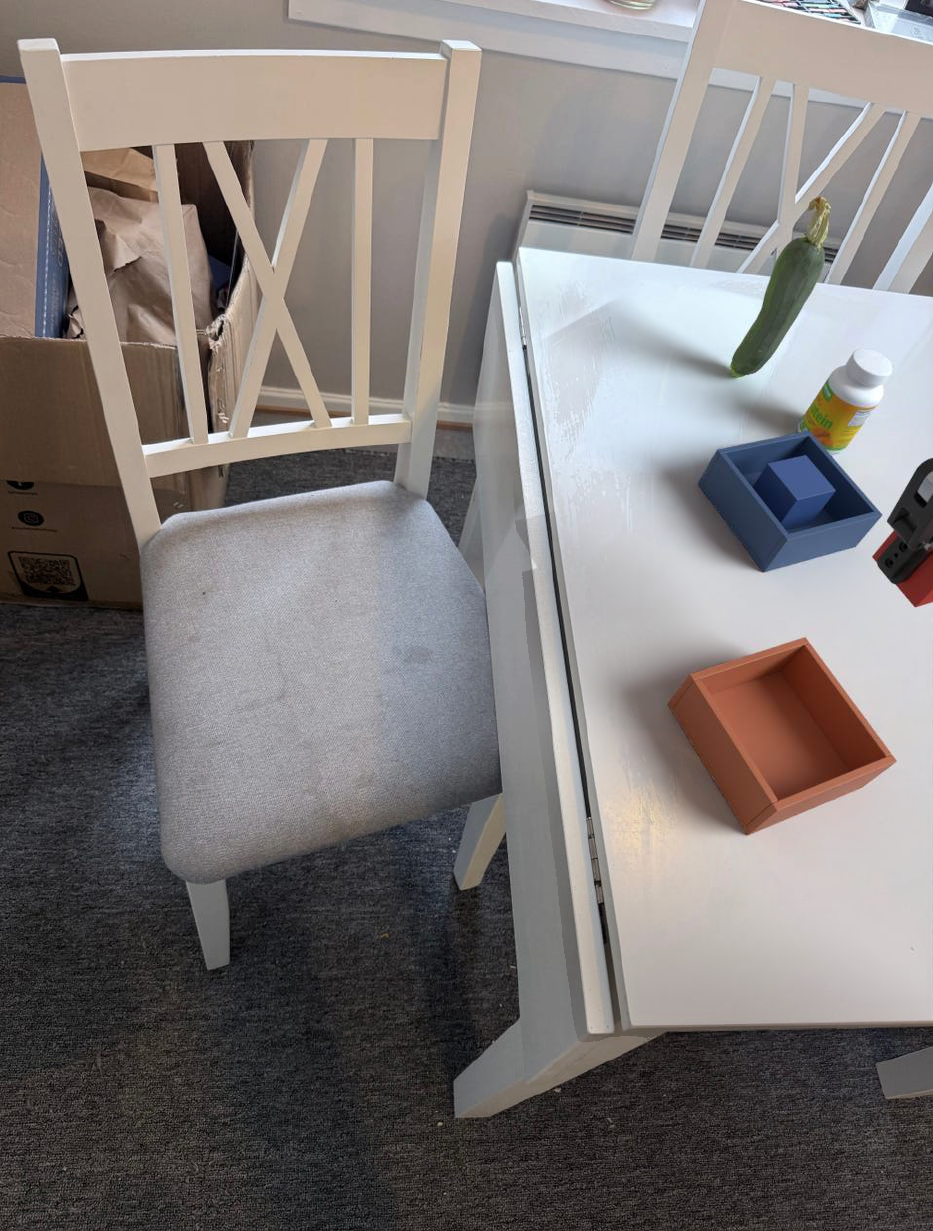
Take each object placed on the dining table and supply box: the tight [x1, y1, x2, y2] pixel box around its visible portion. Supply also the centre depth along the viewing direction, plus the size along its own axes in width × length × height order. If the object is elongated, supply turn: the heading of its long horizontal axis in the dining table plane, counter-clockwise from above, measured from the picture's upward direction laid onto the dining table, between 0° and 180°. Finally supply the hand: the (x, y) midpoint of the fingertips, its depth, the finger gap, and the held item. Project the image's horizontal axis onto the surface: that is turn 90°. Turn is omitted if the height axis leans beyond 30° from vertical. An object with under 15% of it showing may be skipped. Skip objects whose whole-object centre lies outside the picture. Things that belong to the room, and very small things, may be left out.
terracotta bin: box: [667, 636, 898, 836], centre depth 62 cm, size 11×11×4 cm
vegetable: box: [729, 196, 832, 379], centre depth 83 cm, size 4×4×20 cm
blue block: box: [752, 455, 836, 530], centre depth 77 cm, size 5×5×5 cm
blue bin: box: [697, 431, 883, 573], centre depth 78 cm, size 11×11×4 cm
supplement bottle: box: [797, 348, 893, 455], centre depth 84 cm, size 5×5×10 cm
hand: (917, 565), depth 57 cm, fingers closed on red block, 4 cm apart
